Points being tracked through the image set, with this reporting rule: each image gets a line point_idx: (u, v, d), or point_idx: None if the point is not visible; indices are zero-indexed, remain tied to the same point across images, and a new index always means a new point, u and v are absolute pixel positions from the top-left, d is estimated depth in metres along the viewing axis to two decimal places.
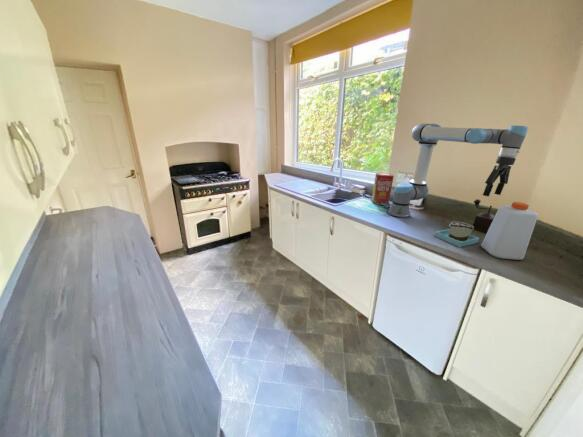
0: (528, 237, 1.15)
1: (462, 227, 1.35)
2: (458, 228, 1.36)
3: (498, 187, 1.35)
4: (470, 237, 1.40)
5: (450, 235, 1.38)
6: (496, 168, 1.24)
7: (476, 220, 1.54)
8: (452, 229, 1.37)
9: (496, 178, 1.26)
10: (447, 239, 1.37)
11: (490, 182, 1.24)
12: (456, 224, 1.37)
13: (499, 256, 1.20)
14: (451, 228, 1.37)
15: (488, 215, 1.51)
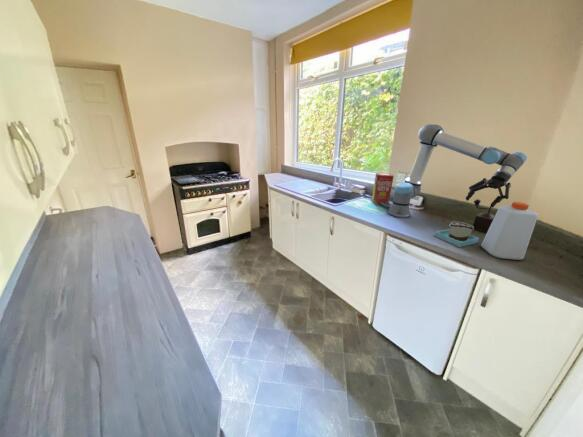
0: (528, 237, 1.15)
1: (462, 227, 1.35)
2: (458, 228, 1.36)
3: (471, 194, 1.42)
4: (470, 237, 1.40)
5: (450, 235, 1.38)
6: (509, 186, 1.31)
7: (476, 220, 1.54)
8: (452, 229, 1.37)
9: None
10: (447, 239, 1.37)
11: None
12: (456, 224, 1.37)
13: (499, 256, 1.20)
14: (451, 228, 1.37)
15: (488, 215, 1.51)
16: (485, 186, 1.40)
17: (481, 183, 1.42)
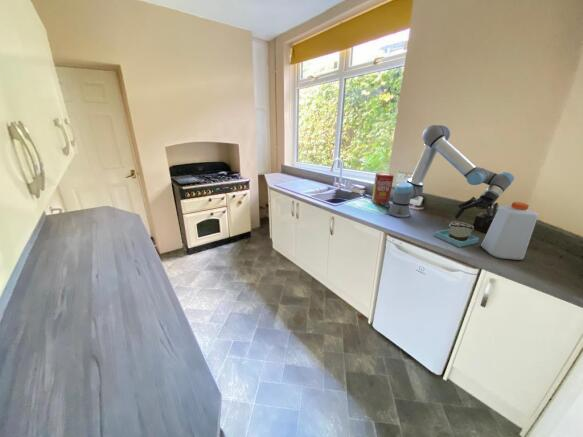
0: (528, 237, 1.15)
1: (462, 227, 1.35)
2: (458, 228, 1.36)
3: (460, 212, 1.44)
4: (470, 237, 1.40)
5: (450, 235, 1.38)
6: (497, 206, 1.33)
7: (476, 220, 1.54)
8: (452, 229, 1.37)
9: None
10: (447, 239, 1.37)
11: None
12: (456, 224, 1.37)
13: (499, 256, 1.20)
14: (451, 228, 1.37)
15: None
16: (474, 205, 1.42)
17: (470, 202, 1.44)
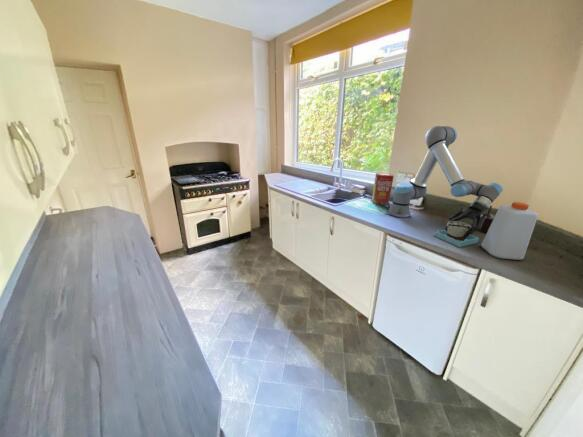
0: (528, 237, 1.15)
1: (460, 226, 1.36)
2: (456, 227, 1.36)
3: None
4: (470, 237, 1.40)
5: (448, 234, 1.39)
6: (484, 218, 1.32)
7: None
8: (449, 229, 1.38)
9: None
10: (447, 239, 1.37)
11: None
12: (454, 223, 1.38)
13: (499, 256, 1.20)
14: (449, 227, 1.38)
15: (488, 215, 1.51)
16: (463, 216, 1.40)
17: (459, 213, 1.43)
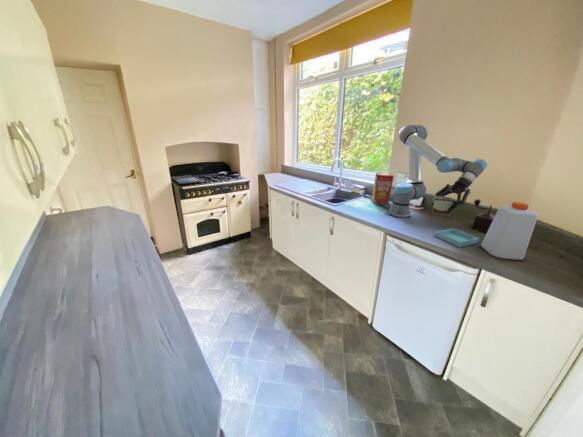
0: (528, 237, 1.15)
1: (445, 201, 1.40)
2: (441, 202, 1.41)
3: None
4: (470, 237, 1.40)
5: (434, 209, 1.44)
6: (468, 192, 1.37)
7: (476, 220, 1.54)
8: (435, 203, 1.42)
9: None
10: (447, 239, 1.37)
11: (463, 204, 1.36)
12: (439, 198, 1.43)
13: (499, 256, 1.20)
14: (434, 202, 1.42)
15: (488, 215, 1.51)
16: (449, 192, 1.45)
17: (445, 189, 1.48)
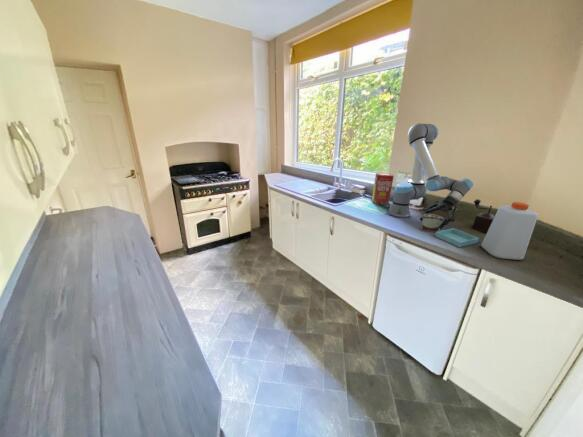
0: (528, 237, 1.15)
1: (433, 218, 1.48)
2: (430, 219, 1.49)
3: None
4: (470, 237, 1.40)
5: (423, 226, 1.52)
6: (456, 210, 1.45)
7: (476, 220, 1.54)
8: (424, 221, 1.50)
9: None
10: (447, 239, 1.37)
11: None
12: (428, 216, 1.50)
13: (499, 256, 1.20)
14: (423, 220, 1.50)
15: (488, 215, 1.51)
16: (437, 208, 1.53)
17: (434, 205, 1.56)
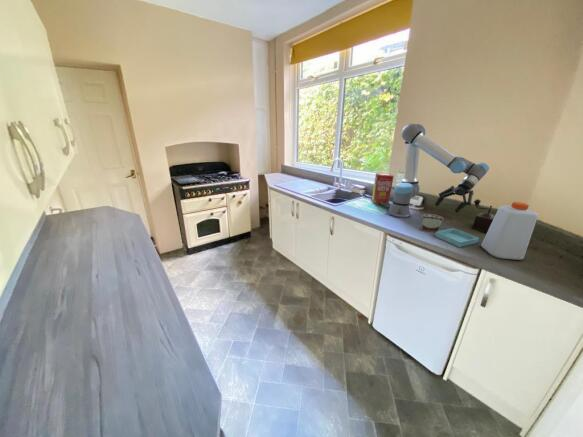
0: (528, 237, 1.15)
1: (433, 218, 1.48)
2: (430, 219, 1.49)
3: (440, 200, 1.56)
4: (470, 237, 1.40)
5: (423, 226, 1.52)
6: (472, 193, 1.45)
7: (476, 220, 1.54)
8: (424, 221, 1.50)
9: None
10: (447, 239, 1.37)
11: (470, 204, 1.43)
12: (428, 216, 1.50)
13: (499, 256, 1.20)
14: (423, 220, 1.50)
15: (488, 215, 1.51)
16: (452, 193, 1.54)
17: (449, 190, 1.56)
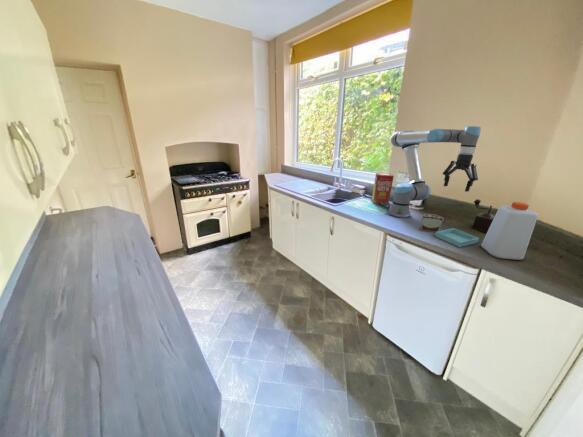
0: (528, 237, 1.15)
1: (433, 218, 1.48)
2: (430, 219, 1.49)
3: (447, 180, 1.52)
4: (470, 237, 1.40)
5: (423, 226, 1.52)
6: (474, 166, 1.37)
7: (476, 220, 1.54)
8: (424, 221, 1.50)
9: None
10: (447, 239, 1.37)
11: (477, 179, 1.37)
12: (428, 216, 1.50)
13: (499, 256, 1.20)
14: (423, 220, 1.50)
15: (488, 215, 1.51)
16: (455, 169, 1.47)
17: (451, 166, 1.49)
